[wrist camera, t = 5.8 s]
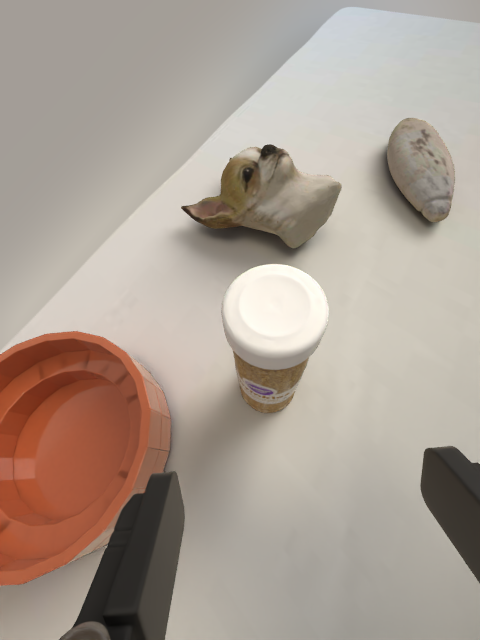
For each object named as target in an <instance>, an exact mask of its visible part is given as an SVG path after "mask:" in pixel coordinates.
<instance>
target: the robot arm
mask: <svg viewBox="0 0 480 640" xmlns="http://www.w3.org/2000/svg"><path fill="white" fill-rule="evenodd" d="M421 492H422V496H423V498H424V501H425V503H426V505H427V507H428V508H429V510H430V511H431V513H432V514H433V516H434V517H435V519H436V520H437V522H438V523H439V524H440V526H441V527H442V529H443V530H444V532H445V533H446V535H447V536H448V538H449V539H450V541H451V542H452V543H453V545H454V546H455V548H456V549H457V551H458V552H459V554H460V555H461V557H462V558H463V559H464V561H465V562H466V564H467V565H468V567H469V568H470V570H471V571H472V573H473V574H474V576H475V577H476V578H477V580H478V581H479V583H480V464H479V463H471V462H470V461H469V460H468V459H467V458H466V457H465V456H464V455H463V454H462V453H461V452H460V451H459V450H458V449H457V448H455V447H453V446H447V447H437V448H427V449H426V450H425V452H424V458H423V467H422V476H421ZM184 519H185V514H184V504H183V500H182V495H181V491H180V486H179V481H178V477H177V473H176V472H164V473H153V474H151V476H150V478H149V480H148V483H147V486H146V489H145V492H144V493H138V494H134V495H133V496H132V497H131V499H130V500H129V501H128V502H127V504H126V505H125V506H124V507H123V509H122V510H121V512H120V515H119V517H118V520H117V522H116V525H115V527H114V532H112V535H111V537H110V540H109V542H108V547H107V548H106V549H105V552H104V554H103V557H102V559H101V562H100V564H99V567H98V569H97V572H96V574H95V577H94V579H93V582H92V584H91V587H90V589H89V592H88V594H87V597H86V599H85V601H84V604H83V606H82V609H81V611H80V614H79V616H78V618H77V620H76V622H75V624H74V626H73V627H72V629H71V630H69V631H68V632H67V633H66V634H64V635H63V636H62V637H61V638H60V639H59V640H165V635H166V629H167V623H168V617H169V611H170V605H171V600H172V594H173V588H174V582H175V576H176V571H177V565H178V559H179V553H180V547H181V542H182V536H183V530H184Z"/></svg>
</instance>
